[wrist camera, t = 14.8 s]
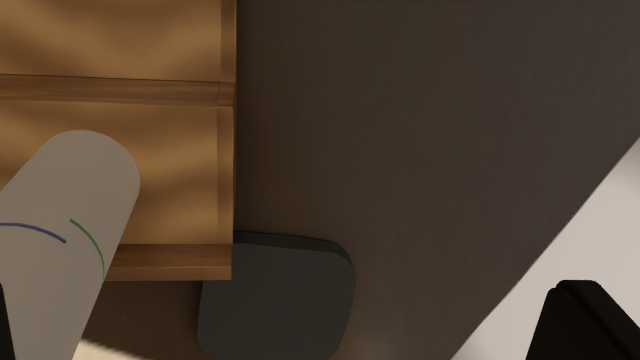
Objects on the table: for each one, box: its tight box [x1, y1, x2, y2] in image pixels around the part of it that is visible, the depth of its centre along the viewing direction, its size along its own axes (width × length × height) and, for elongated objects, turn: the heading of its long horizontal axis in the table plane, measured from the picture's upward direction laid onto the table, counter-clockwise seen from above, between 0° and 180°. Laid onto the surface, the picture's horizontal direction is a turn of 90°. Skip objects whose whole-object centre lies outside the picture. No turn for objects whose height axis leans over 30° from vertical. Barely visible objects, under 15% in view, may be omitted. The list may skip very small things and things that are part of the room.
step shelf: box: [0, 0, 237, 281], centre depth 40 cm, size 24×20×13 cm
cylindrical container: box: [0, 130, 141, 360], centre depth 28 cm, size 7×7×25 cm
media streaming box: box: [197, 232, 355, 360], centre depth 56 cm, size 15×15×3 cm
